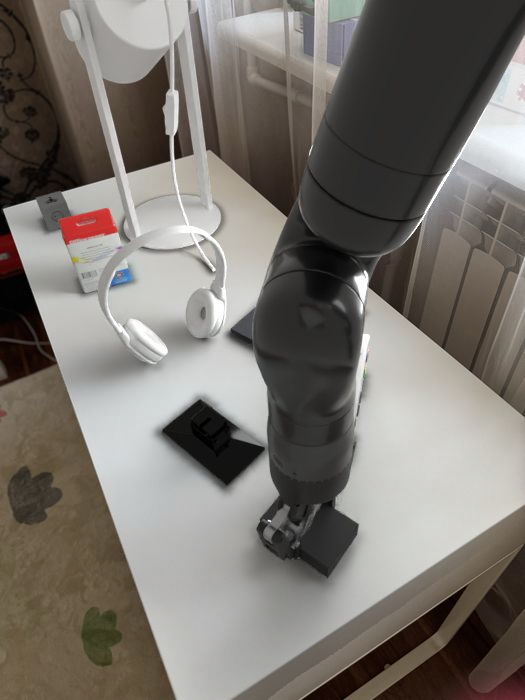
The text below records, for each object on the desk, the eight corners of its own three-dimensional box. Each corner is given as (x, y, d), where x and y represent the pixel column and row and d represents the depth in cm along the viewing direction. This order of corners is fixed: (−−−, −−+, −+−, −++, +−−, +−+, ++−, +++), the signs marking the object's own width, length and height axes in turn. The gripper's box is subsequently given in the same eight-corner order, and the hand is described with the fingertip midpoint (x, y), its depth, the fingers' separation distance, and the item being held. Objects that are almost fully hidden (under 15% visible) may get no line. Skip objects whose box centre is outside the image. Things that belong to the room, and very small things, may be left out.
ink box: (127, 266, 97) (106, 193, 86) (132, 281, 94) (111, 207, 83) (79, 278, 95) (52, 205, 85) (83, 294, 92) (55, 220, 81)
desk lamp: (187, 180, 118) (146, -79, 86) (271, 246, 99) (258, -54, 67) (98, 212, 110) (16, -59, 78) (171, 291, 91) (102, -25, 59)
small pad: (291, 491, 63) (291, 480, 62) (357, 534, 59) (359, 524, 57) (260, 530, 60) (259, 519, 58) (327, 578, 56) (328, 568, 54)
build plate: (161, 432, 71) (154, 410, 68) (201, 399, 75) (196, 377, 71) (227, 486, 65) (222, 465, 62) (267, 448, 68) (265, 426, 65)
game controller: (347, 478, 65) (352, 439, 59) (329, 475, 65) (332, 435, 59) (367, 363, 78) (373, 321, 72) (352, 360, 78) (356, 319, 72)
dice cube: (49, 231, 106) (40, 209, 103) (44, 219, 109) (35, 197, 106) (74, 224, 108) (66, 201, 104) (68, 212, 111) (60, 190, 107)
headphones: (114, 356, 81) (75, 246, 67) (219, 308, 88) (203, 199, 73) (133, 385, 77) (95, 275, 62) (242, 333, 83) (230, 222, 69)
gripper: (297, 528, 42) (298, 604, 54) (388, 409, 49) (371, 499, 61) (225, 478, 45) (241, 560, 57) (320, 374, 53) (316, 466, 65)
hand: (308, 528), depth 59 cm, fingers closed on small pad, 6 cm apart
